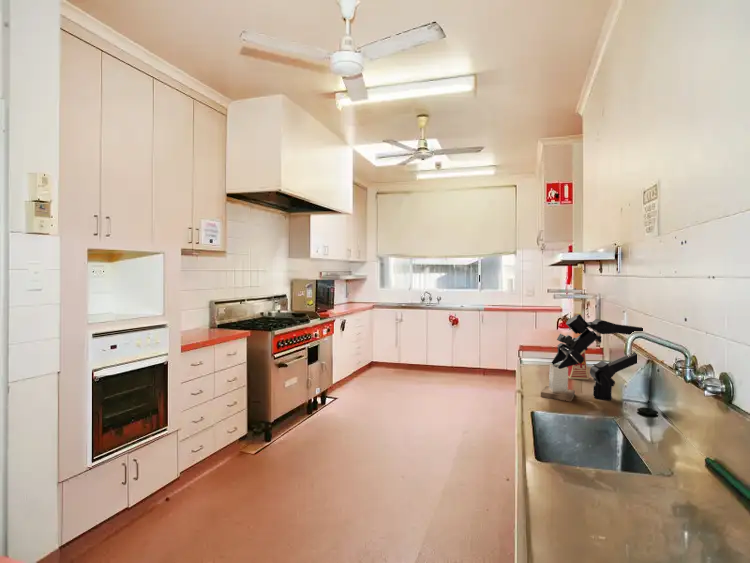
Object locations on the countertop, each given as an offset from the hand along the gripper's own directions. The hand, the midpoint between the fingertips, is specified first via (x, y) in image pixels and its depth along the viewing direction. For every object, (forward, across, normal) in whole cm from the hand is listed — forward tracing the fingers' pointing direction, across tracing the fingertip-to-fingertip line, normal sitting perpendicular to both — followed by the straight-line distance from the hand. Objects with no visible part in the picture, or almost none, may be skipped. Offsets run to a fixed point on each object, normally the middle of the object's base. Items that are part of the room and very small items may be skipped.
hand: (555, 365), depth 192 cm
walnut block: (+8, 0, +10) cm, 13 cm away
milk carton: (-6, -38, +24) cm, 46 cm away
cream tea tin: (+7, 0, +9) cm, 11 cm away
